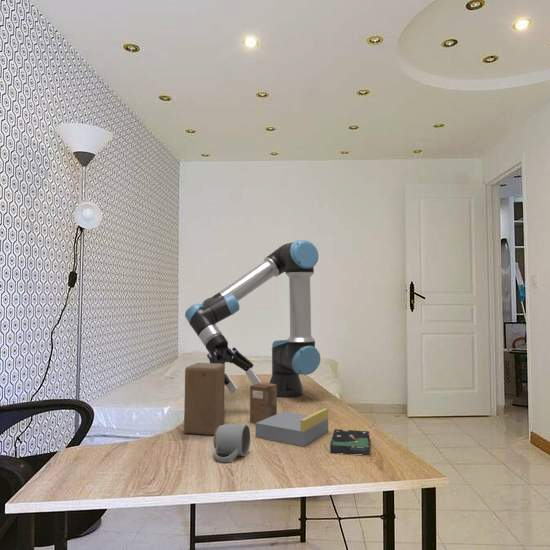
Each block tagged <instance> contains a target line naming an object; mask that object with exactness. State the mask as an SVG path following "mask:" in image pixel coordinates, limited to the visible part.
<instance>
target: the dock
mask: <svg viewBox="0 0 550 550" xmlns="http://www.w3.org/2000/svg"><path fill="white" fill-rule="evenodd" d="M326 432H327V433H329V408H327V407H326V408H323V409H320V410H319V411H316V412H314V413H312V414H311V415H308V414H301V413H295V412H289V411H281V412H279V413H278V412H277V414H276V415H274V416H271V417H269V418H266V419H264V420H262V421H259V422H257V423H256V424H255V438H259V439H265V440H269V441H273V442H274V441H275V442H280V443H285V444H289V445H294V446H299V447H305V446H307V445H309V444H310V443H312V442H314V441H315V440H317V439H319V438H320V437H322V436H324V435H326V434H327V433H326ZM323 434H324V435H323Z"/></svg>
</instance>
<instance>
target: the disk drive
mask: <svg viewBox="0 0 550 550" xmlns="http://www.w3.org/2000/svg"><path fill="white" fill-rule="evenodd" d="M330 440H331V441H330V444H329V446H330V449H329V453H331V454H337V453H343V454H342V455H350V454H362V455H369V456H370V453H371V452H370V448H371V447H370V431H368V430H353V429H349V430H347V431H346V430H343V429H335V428H334V430H333V434H332V436H331V439H330ZM369 452H370V453H369ZM362 455H361V456H362Z"/></svg>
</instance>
